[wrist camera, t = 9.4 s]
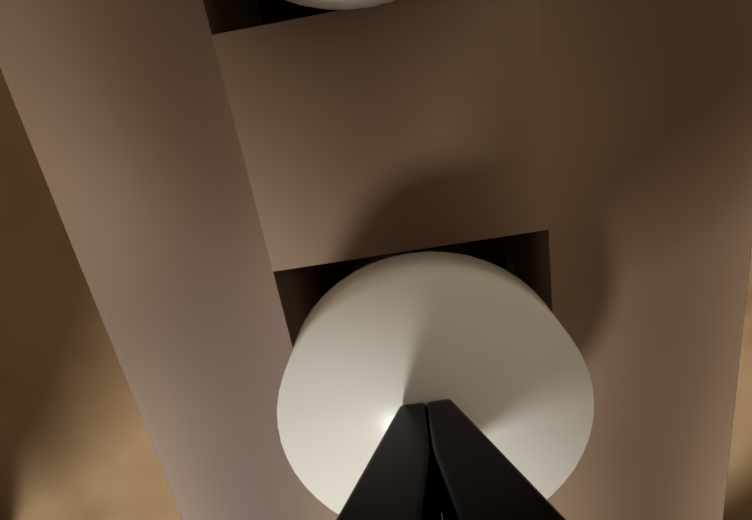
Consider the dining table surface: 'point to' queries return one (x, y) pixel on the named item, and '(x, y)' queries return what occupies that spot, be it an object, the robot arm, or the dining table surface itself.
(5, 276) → the dining table surface
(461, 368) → the knob
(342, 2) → the knob middle
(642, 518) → the mount
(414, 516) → the robot arm
